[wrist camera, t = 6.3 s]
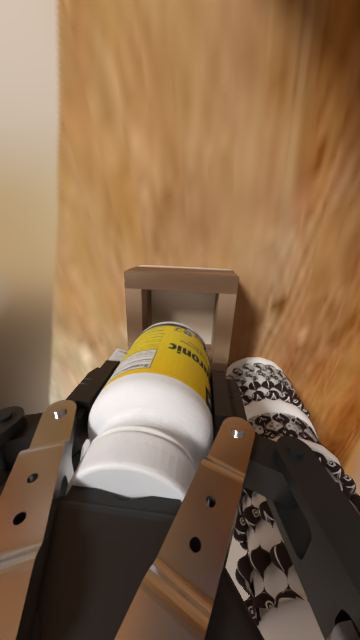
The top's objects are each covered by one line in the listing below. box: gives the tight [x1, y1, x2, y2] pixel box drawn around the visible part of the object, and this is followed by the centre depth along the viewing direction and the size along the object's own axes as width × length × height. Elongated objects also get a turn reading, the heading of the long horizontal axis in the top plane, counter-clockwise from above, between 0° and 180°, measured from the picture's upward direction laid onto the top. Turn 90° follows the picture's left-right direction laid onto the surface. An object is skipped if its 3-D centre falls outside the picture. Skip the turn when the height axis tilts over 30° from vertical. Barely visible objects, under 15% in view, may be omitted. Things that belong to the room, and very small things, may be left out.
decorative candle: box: [226, 357, 360, 640], centre depth 16 cm, size 9×9×25 cm
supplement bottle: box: [66, 322, 214, 508], centre depth 11 cm, size 5×5×10 cm
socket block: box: [124, 265, 239, 376], centre depth 23 cm, size 10×10×6 cm
